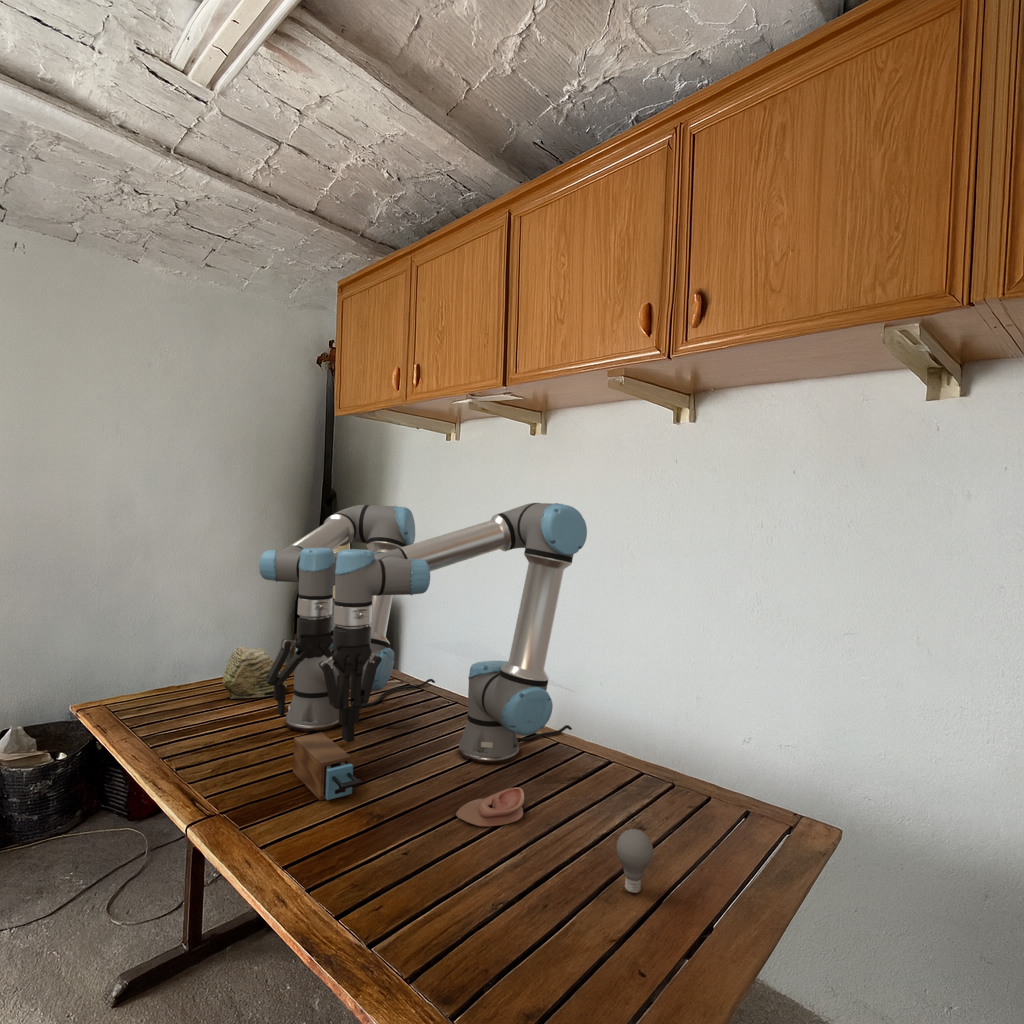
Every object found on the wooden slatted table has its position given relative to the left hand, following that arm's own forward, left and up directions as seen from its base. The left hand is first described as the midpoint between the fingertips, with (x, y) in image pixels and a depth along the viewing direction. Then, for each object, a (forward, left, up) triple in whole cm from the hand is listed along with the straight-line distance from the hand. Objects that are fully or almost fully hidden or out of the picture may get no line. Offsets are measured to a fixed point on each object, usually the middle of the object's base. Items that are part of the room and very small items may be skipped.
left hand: (311, 709), depth 144 cm
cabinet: (0, +5, -15) cm, 16 cm away
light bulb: (-11, +76, -15) cm, 78 cm away
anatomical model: (-15, +42, -15) cm, 47 cm away
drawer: (+2, +11, -14) cm, 18 cm away
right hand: (+3, +18, -1) cm, 19 cm away
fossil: (-21, -61, -15) cm, 66 cm away
